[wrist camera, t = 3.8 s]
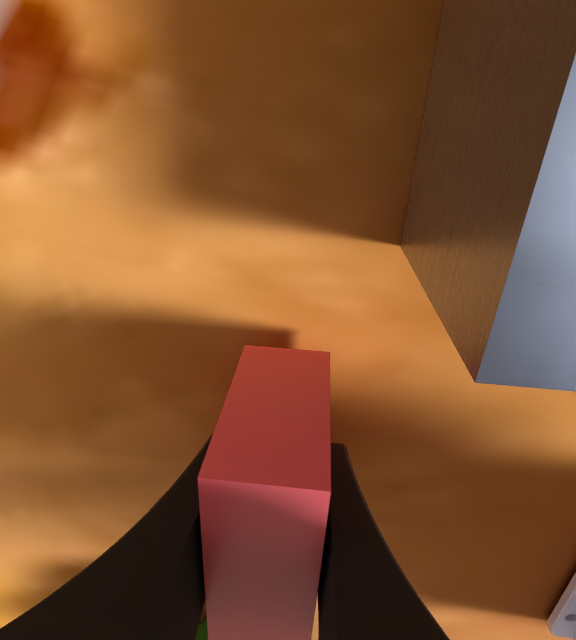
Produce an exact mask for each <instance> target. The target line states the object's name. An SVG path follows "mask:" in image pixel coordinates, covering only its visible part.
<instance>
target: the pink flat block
mask: <svg viewBox="0 0 576 640" xmlns="http://www.w3.org/2000/svg"><path fill="white" fill-rule="evenodd" d="M198 492H199V507H200V522H201V537H202V552H203V567H204V582H205V597H206V612H207V627H208V640H311V636H312V628H313V621H314V614H315V606H316V599H317V591H318V584H319V577H320V569H321V562H322V554H323V547H324V539H325V532H326V525H327V517H328V510H329V502H330V495H331V431H330V352H322V351H310V350H299V349H287V348H275V347H264V346H252V345H245V346H244V349H243V351H242V354H241V357H240V360H239V363H238V365H237V368H236V371H235V374H234V377H233V379H232V382H231V385H230V388H229V391H228V394H227V396H226V399H225V402H224V405H223V408H222V410H221V413H220V416H219V419H218V422H217V424H216V427H215V430H214V433H213V436H212V438H211V441H210V444H209V447H208V450H207V453H206V455H205V458H204V461H203V464H202V467H201V469H200V472H199V475H198Z"/></svg>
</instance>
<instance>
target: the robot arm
mask: <svg viewBox="0 0 576 640" xmlns="http://www.w3.org/2000/svg"><path fill="white" fill-rule="evenodd" d="M212 436H213V434H212V435H211V436H210V438H209V439H208V441H207V442H206V444H205V445H204V446H203V448H202V449H201V450H200V452H199V453H198V455H197V456H196V457H195V458H194V460H193V461H192V462H191V464H190V465H189V466H188V467H187V469H186V470H185V471H184V472H183V473H182V475H181V476H180V477H179V478H178V479H177V481H176V482H175V483H174V484H173V485H172V487H171V488H170V489H169V490H168V491H167V492H166V493H165V494H164V495H163V496H162V498H161V499H160V500H159V501H158V502H157V503H156V504H155V505H154V506H153V507H152V508H151V509H150V510H149V512H148V513H147V514H146V515H145V516H144V517H143V518H142V519H141V520H140V521H139V522H138V523H137V524H135V525H134V526H133V527H132V528H131V529H130V530H129V531H128V532H127V533H126V534H125V535H124V536H123V537H122V538H121V539H119V540H118V541H117V542H116V543H115V544H114V545H113V546H111V547H110V548H109V549H108V550H107V551H106V552H104V553H103V554H102V555H101V556H100V557H99V558H97V559H96V560H95V561H94V562H93V563H91V564H90V565H89V566H88V567H87V568H85V569H84V570H83V571H82V572H80V573H79V574H78V575H76V576H75V577H74V578H72V579H71V580H70V581H68V582H67V583H66V584H64V585H63V586H62V587H60V588H59V589H58V590H56V591H55V592H53V593H52V594H51V595H49V596H48V597H47V598H45V599H44V600H43V601H41V602H40V603H38V604H37V605H36V606H34V607H33V608H31V609H30V610H28V611H27V612H25V613H24V614H22V615H21V616H19V617H18V618H16V619H14V620H13V621H11V622H10V623H8V624H7V625H5V626H4V627H2V628H1V629H0V640H195V639H196V635H197V630H198V626H199V621H200V617H201V613H202V609H203V605H204V602H205V598H206V597H205V582H204V567H203V552H202V537H201V522H200V507H199V492H198V475H199V472H200V469H201V467H202V464H203V461H204V458H205V455H206V453H207V450H208V447H209V444H210V441H211V438H212ZM317 592H318V614H319V639H318V640H450V639H449V638H448V637H447V635H446V634H445V633H444V631H443V630H442V628H441V627H440V626H439V624H438V623H437V621H436V620H435V619H434V617H433V616H432V615H431V613H430V612H429V610H428V609H427V608H426V606H425V605H424V603H423V602H422V601H421V599H420V598H419V596H418V595H417V593H416V592H415V590H414V589H413V587H412V585H411V584H410V582H409V581H408V579H407V578H406V576H405V575H404V573H403V571H402V570H401V568H400V566H399V565H398V563H397V561H396V560H395V558H394V556H393V555H392V553H391V551H390V549H389V547H388V546H387V544H386V542H385V540H384V538H383V536H382V534H381V532H380V531H379V529H378V527H377V525H376V523H375V521H374V519H373V517H372V514H371V512H370V510H369V508H368V506H367V503H366V501H365V499H364V497H363V495H362V492H361V490H360V487H359V485H358V482H357V480H356V477H355V474H354V472H353V469H352V466H351V463H350V460H349V456H348V452H347V448H346V447H345V446H344V444H337V443H331V495H330V502H329V510H328V517H327V525H326V532H325V539H324V547H323V554H322V562H321V569H320V577H319V584H318V591H317ZM547 625H548V628H549V630H550V632H551V634H553V635H555V636H557V637H564V638H572V639H574V640H576V572H575V574H574V576H573V578H572V579H571V581H570V583H569V584H568V586H567V588H566V590H565V591H564V593H563V595H562V596H561V598H560V600H559V602H558V603H557V605H556V607H555V608H554V610H553V612H552V614H551V615H550V617H549V619H548V621H547Z"/></svg>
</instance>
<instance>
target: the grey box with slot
mask: <svg viewBox="0 0 576 640" xmlns="http://www.w3.org/2000/svg"><path fill="white" fill-rule="evenodd" d="M401 248H402V250H403V252H404V254H405V256H406V257H407V259H408V261H409V263H410V265H411V267H412V268H413V270H414V272H415V274H416V276H417V278H418V279H419V281H420V283H421V285H422V287H423V289H424V290H425V292H426V294H427V296H428V298H429V300H430V301H431V303H432V305H433V307H434V309H435V310H436V312H437V314H438V316H439V318H440V320H441V321H442V323H443V325H444V327H445V329H446V331H447V332H448V334H449V336H450V338H451V340H452V342H453V343H454V345H455V347H456V349H457V351H458V353H459V354H460V356H461V358H462V360H463V362H464V364H465V365H466V367H467V369H468V371H469V373H470V375H471V376H472V378H473V380H474V382H475V383H485V384H497V385H508V386H520V387H531V388H543V389H554V390H566V391H576V0H444V3H443V9H442V14H441V20H440V26H439V31H438V37H437V43H436V48H435V54H434V60H433V65H432V71H431V76H430V82H429V88H428V93H427V99H426V105H425V110H424V116H423V122H422V127H421V133H420V139H419V144H418V150H417V156H416V161H415V167H414V173H413V178H412V184H411V189H410V195H409V201H408V206H407V212H406V218H405V223H404V229H403V235H402V240H401Z"/></svg>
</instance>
